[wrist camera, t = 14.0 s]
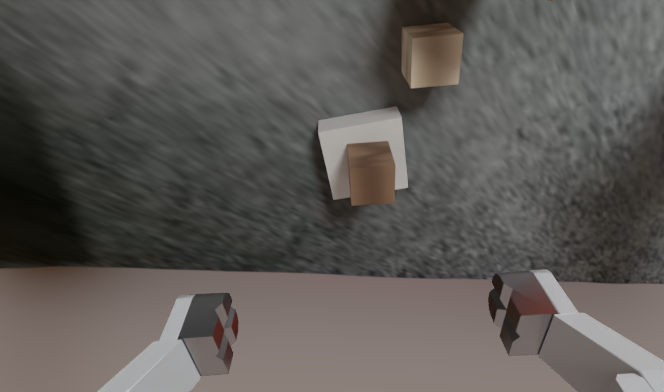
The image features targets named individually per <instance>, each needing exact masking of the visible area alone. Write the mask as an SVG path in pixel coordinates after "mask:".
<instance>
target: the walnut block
mask: <svg viewBox="0 0 664 392" xmlns="http://www.w3.org/2000/svg"><path fill="white" fill-rule="evenodd" d="M347 154H348V172H349V185H350V196H351V206H356V205H372V204H387V203H395V167H396V165H395V162H394V159H393V156H392V152H391V149H390V146H389V142H388V141H381V142H367V143H353V144H347Z"/></svg>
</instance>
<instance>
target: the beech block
mask: <svg viewBox="0 0 664 392" xmlns="http://www.w3.org/2000/svg"><path fill="white" fill-rule="evenodd" d="M463 37H464V33H462V32H461V31H459V30H458V29H456V28H455V27H453V26H452V25H450V24H449V23H438V24H427V25H417V26H406V27H402V65H401V72H402V74H403V76H404V78H405V79H406V81H407V83H408V85H409V86H410V88H422V87H433V86H444V85H456V84H459V75H460V65H461V56H462V46H463Z"/></svg>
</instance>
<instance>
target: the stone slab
mask: <svg viewBox="0 0 664 392" xmlns="http://www.w3.org/2000/svg"><path fill="white" fill-rule="evenodd" d="M318 135H319V139H320V143H321V148H322V152H323V156H324V161H325V165H326V169H327V174H328V178H329V182H330V187H331V191H332V195H333V200H336V199H342V198H348V197H351V196H350V185H349V172H348V154H347V144H353V143H367V142H381V141H388V142H389V146H390V149H391V152H392V156H393V159H394V162H395V165H396V167H395V190H397V189H403V188H408V181H407V170H406V160H405V149H404V138H403V127H402V117H401V115H400V112H399V110H398V108H397V106H395V107H389V108H384V109H378V110H373V111H368V112H362V113H357V114H352V115H346V116H341V117H335V118H330V119H325V120H319V121H318Z"/></svg>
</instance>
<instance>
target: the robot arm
mask: <svg viewBox="0 0 664 392" xmlns="http://www.w3.org/2000/svg"><path fill="white" fill-rule="evenodd" d="M492 284H493V286H494V289H493V290H492V291H490V293H489V298H488V303H489V311H490V314H491V317H492V319H493V322H494V323H495V324H496V325H497V326H499V327H500V328H501V333H500V338H501V340H502V342H503V344H504V347H505V349H506V351H507V353H508V355H509V356H520V355H539V357H540V358H541V359H542V360H543V361H544V362H545V363H546V364H548V365H549V366H550V367H551V368H552V369H553V370H554V371H555V372H557V373H558V374H559V375H560V376H561V377H562V378H563V379H564V380H565V381H567V382H568V383H569V384H570V385H571V386H572V387H573V388H574V389H575V390H577V391H578V392H664V361H663V360H661V359H659V358H658V357H656V356H654V355H653V354H651V353H649V352H648V351H646V350H644V349H643V348H641V347H640V346H638V345H636V344H635V343H633V342H632V341H630V340H628V339H627V338H625V337H623V336H622V335H620V334H618V333H617V332H615V331H613V330H612V329H610V328H609V327H607V326H605V325H604V324H602V323H600V322H599V321H597V320H595V319H594V318H592V317H590V316H589V315H587V314H586V313H579V312H578V311H577V309H576V308H575V307H574V305H573V304H572V302H571V301H570V299H569V298H568V296H567V295H566V294H565V292H564V291H563V289H562V288H561V287H560V285H559V284H558V282H557V281H556V279H555V278H554V276H553V275H552V273H551V272H550V271H548V270H547V269H544V270H531V271H517V272H505V273H495V274H494V276H493V279H492ZM231 303H232V299H231V296H230V294H229V293H211V294H195V295H180V296H179V297H178V298H177V299H176V301H175V304H174V306H173V308H172V310H171V313H170V315H169V318H168V320H167V322H166V325H165V327H164V330H163V332H162V334H161V337H160V339H159V341H154V342H153V343H151V344H150V345H149V346H148V347H147V348H146V349H145V350H144V351H142V352H141V353H140V354H139V355H138V356H137V357H136V358H135V359H134V360H132V361H131V362H130V363H129V364H128V365H127V366H126V367H124V368H123V369H122V370H121V371H120V372H119V373H118V374H117V375H115V376H114V377H113V378H112V379H111V380H110V381H109V382H108V383H106V384H105V385H104V386H103V387H102V388H101V389H100V390H99V391H97V392H190V391H191V390H192V389H193V387H194V386H195V385H196V383H197V382H198V381H199V380H200V379H201V377H200V376H208V375H219V374H228V373H229V369H230V365H231V361H232V357H233V351H232V349H231V345H232V344H233V343H234V342H235V341H236V339H237V334H238V317H237V313H236V310H235V309H233V308H232V307H231Z"/></svg>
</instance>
